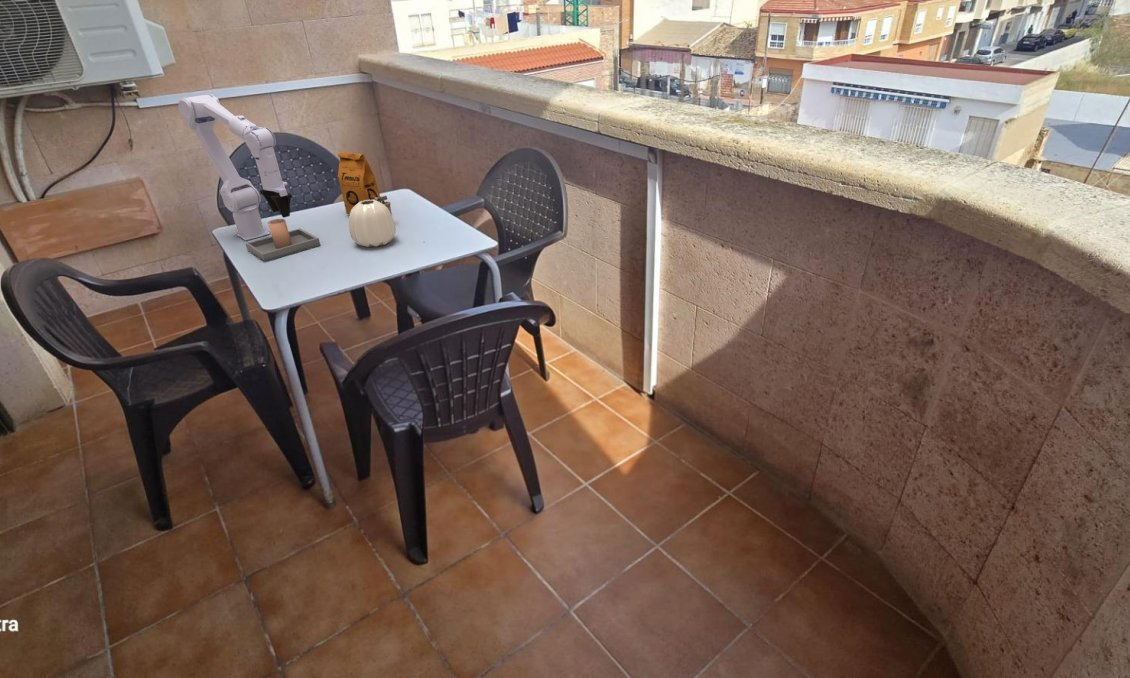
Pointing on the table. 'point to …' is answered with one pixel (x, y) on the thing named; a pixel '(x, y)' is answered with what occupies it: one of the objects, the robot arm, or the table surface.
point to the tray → (268, 251)
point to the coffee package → (356, 180)
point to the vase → (371, 224)
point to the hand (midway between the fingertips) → (281, 213)
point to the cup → (279, 233)
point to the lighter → (384, 202)
